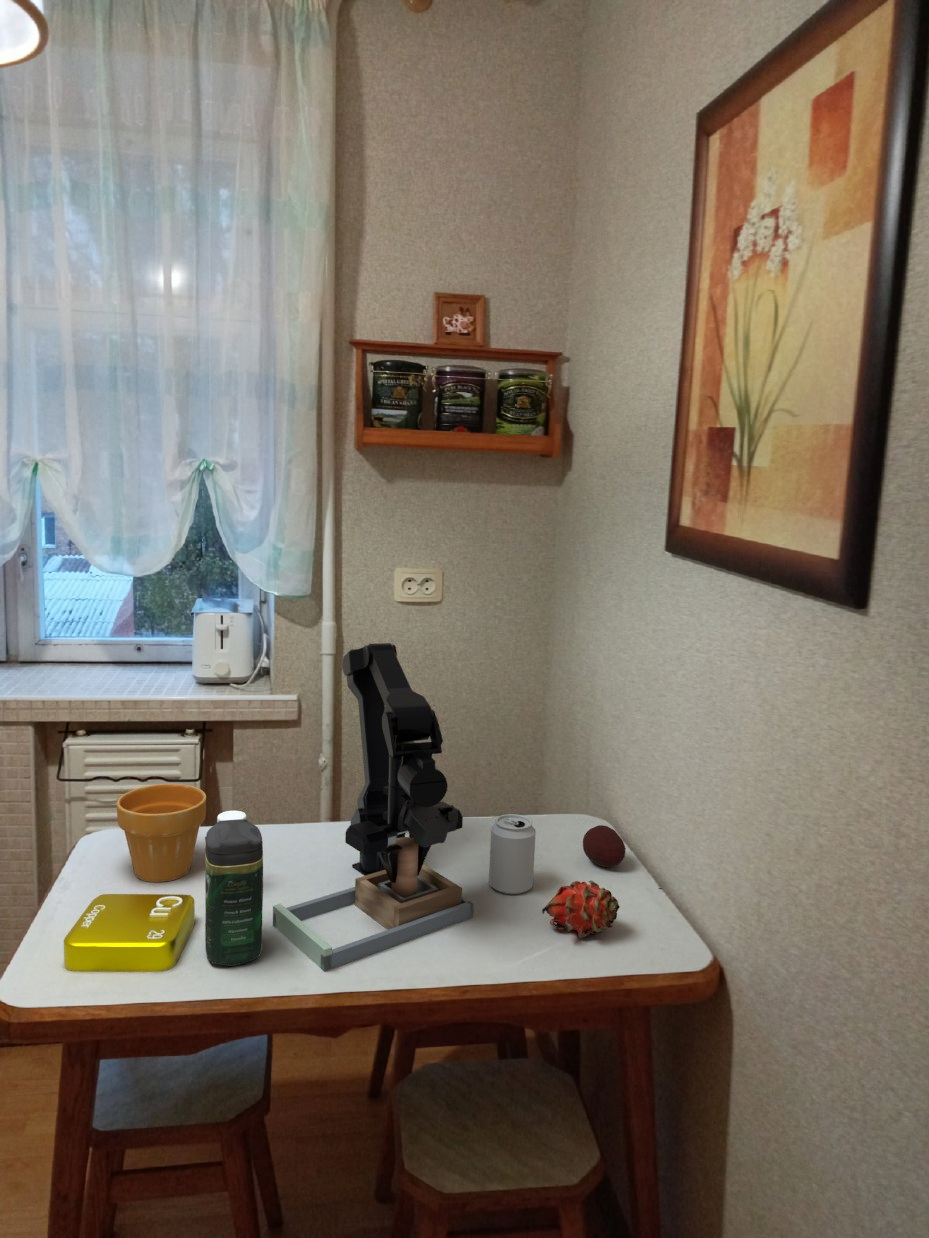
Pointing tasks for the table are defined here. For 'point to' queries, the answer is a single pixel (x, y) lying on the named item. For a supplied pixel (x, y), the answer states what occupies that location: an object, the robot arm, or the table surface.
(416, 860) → the handle peg
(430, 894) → the crate
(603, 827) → the passion fruit
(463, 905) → the bay
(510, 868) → the can
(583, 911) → the dragon fruit
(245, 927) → the green labelled bottle
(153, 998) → the table surface
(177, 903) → the element tile
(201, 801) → the flower pot
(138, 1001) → the table surface
